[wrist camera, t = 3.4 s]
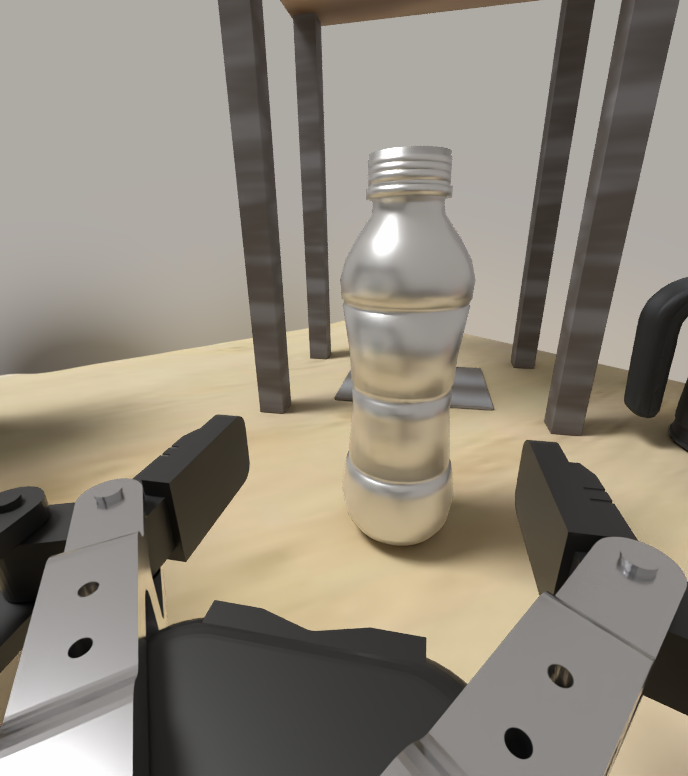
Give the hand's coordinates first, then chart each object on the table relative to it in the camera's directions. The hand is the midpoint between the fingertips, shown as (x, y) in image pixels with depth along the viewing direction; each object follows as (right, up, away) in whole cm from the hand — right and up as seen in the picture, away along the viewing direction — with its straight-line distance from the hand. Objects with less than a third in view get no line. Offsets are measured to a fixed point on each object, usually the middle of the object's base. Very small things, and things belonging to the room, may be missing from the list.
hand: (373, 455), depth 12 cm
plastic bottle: (+2, -7, +14) cm, 15 cm away
